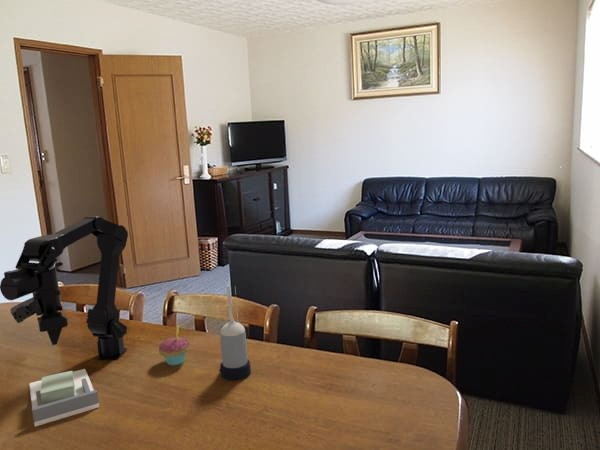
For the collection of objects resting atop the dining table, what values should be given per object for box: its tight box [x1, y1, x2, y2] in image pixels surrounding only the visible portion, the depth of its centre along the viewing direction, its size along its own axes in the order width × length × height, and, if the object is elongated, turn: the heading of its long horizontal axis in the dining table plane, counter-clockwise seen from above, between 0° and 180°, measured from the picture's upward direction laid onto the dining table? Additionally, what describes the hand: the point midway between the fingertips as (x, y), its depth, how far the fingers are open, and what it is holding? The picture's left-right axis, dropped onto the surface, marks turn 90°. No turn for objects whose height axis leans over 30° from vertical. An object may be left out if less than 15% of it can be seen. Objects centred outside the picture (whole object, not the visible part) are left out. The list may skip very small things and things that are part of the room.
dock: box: [28, 368, 100, 427], centre depth 127 cm, size 24×14×5 cm, turn 31°
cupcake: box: [158, 322, 191, 366], centre depth 142 cm, size 9×8×12 cm
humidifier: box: [218, 284, 252, 382], centre depth 132 cm, size 8×8×25 cm
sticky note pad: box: [41, 370, 75, 405], centre depth 123 cm, size 9×7×5 cm
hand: (54, 344), depth 130 cm, fingers closed
